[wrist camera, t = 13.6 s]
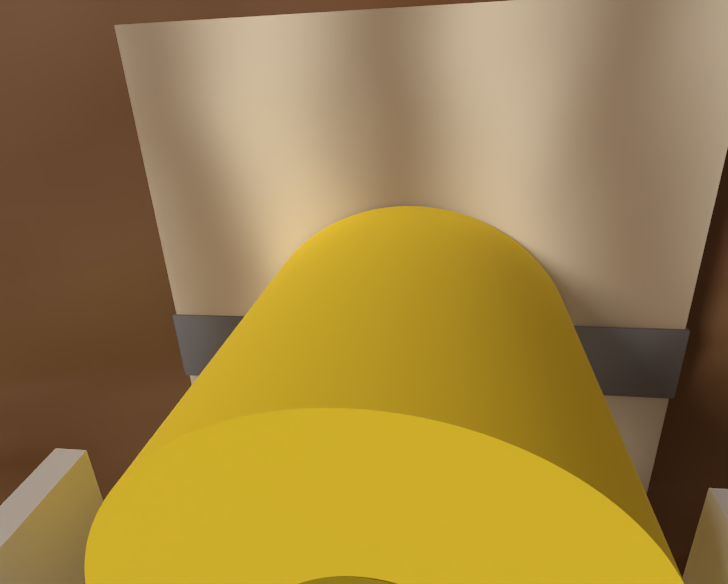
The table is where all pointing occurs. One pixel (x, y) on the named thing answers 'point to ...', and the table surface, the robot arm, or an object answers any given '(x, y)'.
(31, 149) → the table surface
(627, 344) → the board
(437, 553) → the tape roll
